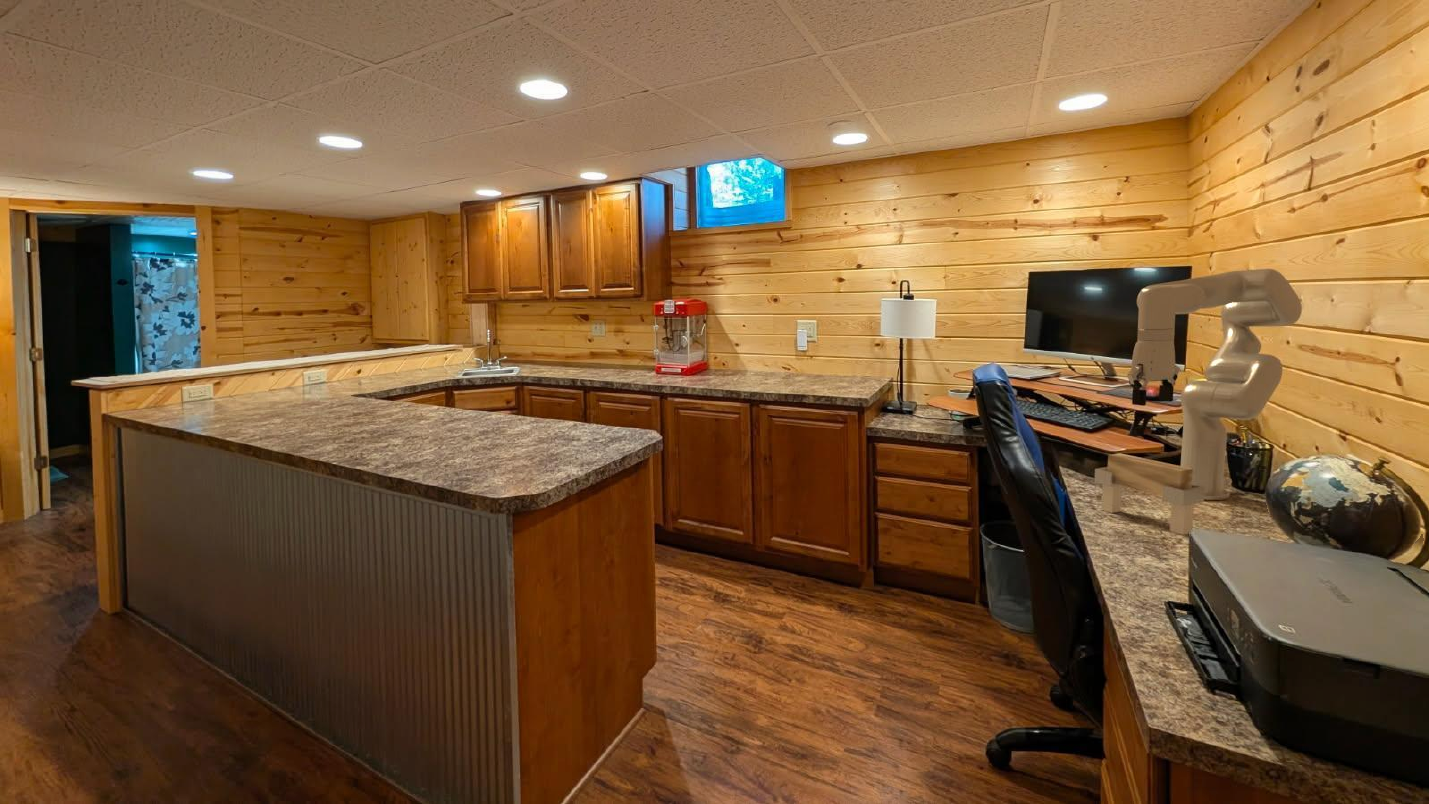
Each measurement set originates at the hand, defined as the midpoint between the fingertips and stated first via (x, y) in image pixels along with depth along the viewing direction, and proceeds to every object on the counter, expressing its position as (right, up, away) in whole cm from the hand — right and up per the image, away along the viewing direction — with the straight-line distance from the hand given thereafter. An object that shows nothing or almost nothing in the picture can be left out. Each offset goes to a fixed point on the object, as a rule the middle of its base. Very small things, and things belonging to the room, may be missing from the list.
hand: (1152, 402), depth 158 cm
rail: (-6, -21, -7) cm, 23 cm away
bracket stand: (-6, -29, -5) cm, 30 cm away
